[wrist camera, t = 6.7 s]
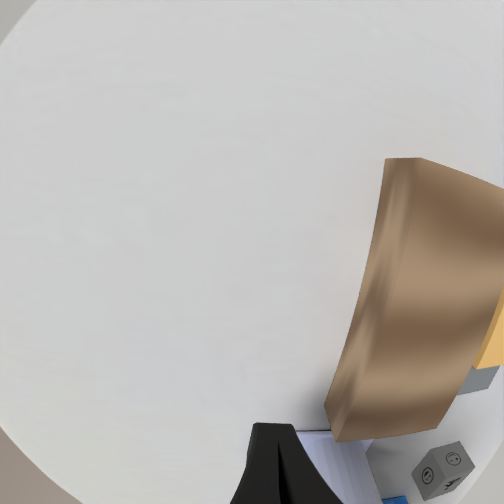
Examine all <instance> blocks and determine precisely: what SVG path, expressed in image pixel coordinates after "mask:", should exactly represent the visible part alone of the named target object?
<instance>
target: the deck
mask: <svg viewBox="0 0 504 504" xmlns="http://www.w3.org/2000/svg"><path fill="white" fill-rule="evenodd" d="M503 286H504V189H502V188H500V187H498V186H495V185H493V184H491V183H488V182H486V181H483V180H481V179H478V178H476V177H473V176H471V175H468V174H466V173H463V172H460V171H458V170H455V169H452V168H449V167H446V166H444V165H441V164H438V163H435V162H432V161H429V160H426V159H423V158H390V159H385V165H384V173H383V180H382V186H381V193H380V199H379V205H378V210H377V216H376V221H375V227H374V232H373V237H372V242H371V246H370V251H369V256H368V260H367V264H366V269H365V273H364V277H363V281H362V285H361V289H360V293H359V297H358V301H357V304H356V308H355V312H354V315H353V319H352V322H351V326H350V329H349V333H348V336H347V339H346V343H345V346H344V349H343V352H342V355H341V358H340V361H339V364H338V367H337V370H336V373H335V376H334V379H333V382H332V385H331V388H330V390H329V393H328V396H327V399H326V401H325V404H324V407H325V410H326V413H327V417H328V420H329V423H330V427H331V430H332V434H333V437H334V440H335V442H348V441H360V440H369V439H378V438H385V437H392V436H398V435H405V434H410V433H416V432H421V431H426V430H431V429H435V428H437V426H438V425H439V423H440V422H441V420H442V419H443V417H444V415H445V414H446V412H447V411H448V409H449V407H450V406H451V404H452V402H453V400H454V399H455V397H456V395H457V393H458V392H459V390H460V388H461V386H462V384H463V382H464V380H465V378H466V377H467V375H468V373H469V371H470V369H471V367H472V365H473V362H474V360H475V358H476V356H477V354H478V352H479V350H480V347H481V345H482V343H483V340H484V338H485V336H486V333H487V331H488V328H489V326H490V323H491V321H492V318H493V315H494V313H495V310H496V307H497V304H498V301H499V298H500V295H501V292H502V289H503Z"/></svg>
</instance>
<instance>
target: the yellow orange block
mask: <svg viewBox="0 0 504 504" xmlns="http://www.w3.org/2000/svg"><path fill="white" fill-rule="evenodd" d="M499 365H504V286H503V289H502V292H501V295H500V298H499V301H498V304H497V307H496V310H495V313H494V315H493V318H492V321H491V323H490V326H489V328H488V331H487V333H486V336H485V338H484V340H483V343H482V345H481V347H480V350H479V352H478V354H477V356H476V358H475V360H474V362H473V367H474V368H475V369H482V368H488V367H493V366H499Z"/></svg>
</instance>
